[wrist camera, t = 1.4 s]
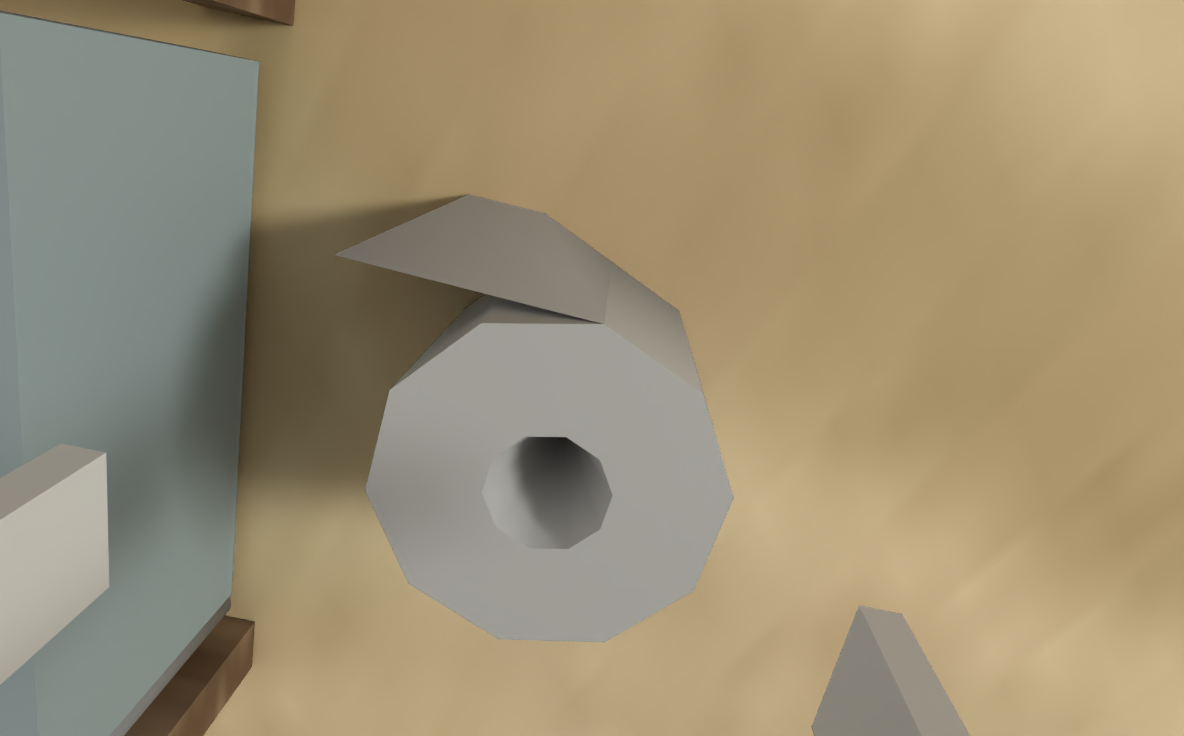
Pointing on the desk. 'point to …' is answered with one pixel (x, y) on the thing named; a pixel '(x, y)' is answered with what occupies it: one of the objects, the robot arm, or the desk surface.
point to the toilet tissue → (543, 433)
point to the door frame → (226, 653)
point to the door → (125, 339)
